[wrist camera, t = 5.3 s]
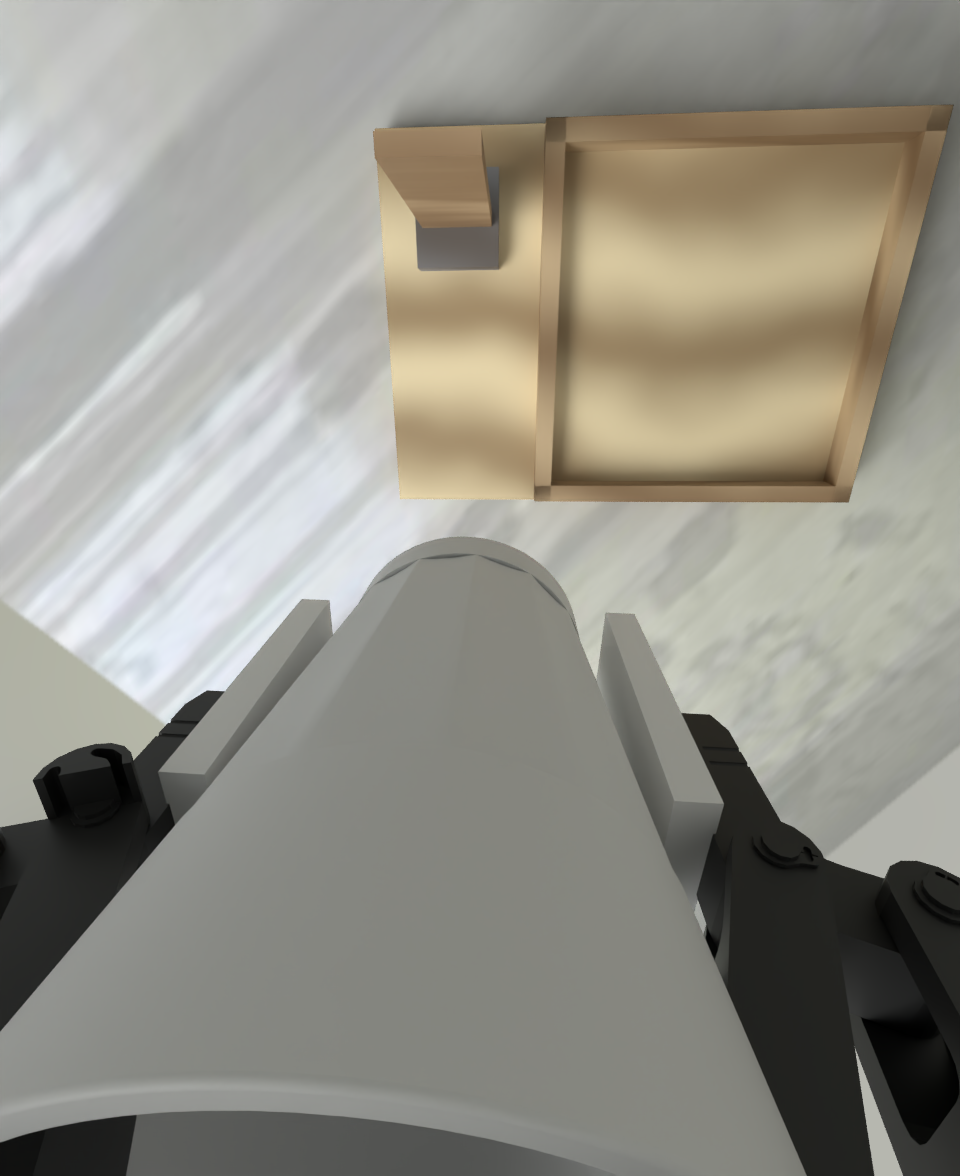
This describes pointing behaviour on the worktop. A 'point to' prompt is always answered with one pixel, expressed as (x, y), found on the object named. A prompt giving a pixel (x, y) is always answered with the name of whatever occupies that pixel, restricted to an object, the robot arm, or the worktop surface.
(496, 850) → the cup
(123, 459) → the worktop surface
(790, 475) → the board
